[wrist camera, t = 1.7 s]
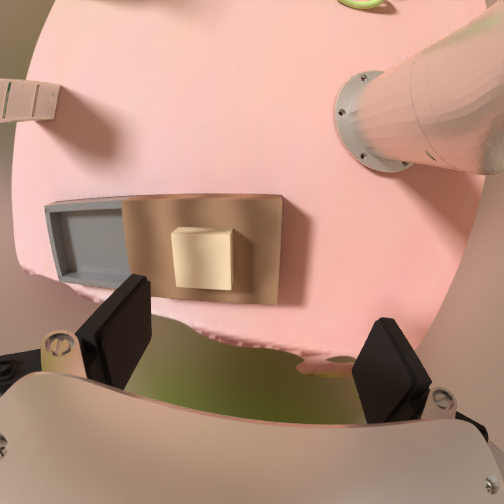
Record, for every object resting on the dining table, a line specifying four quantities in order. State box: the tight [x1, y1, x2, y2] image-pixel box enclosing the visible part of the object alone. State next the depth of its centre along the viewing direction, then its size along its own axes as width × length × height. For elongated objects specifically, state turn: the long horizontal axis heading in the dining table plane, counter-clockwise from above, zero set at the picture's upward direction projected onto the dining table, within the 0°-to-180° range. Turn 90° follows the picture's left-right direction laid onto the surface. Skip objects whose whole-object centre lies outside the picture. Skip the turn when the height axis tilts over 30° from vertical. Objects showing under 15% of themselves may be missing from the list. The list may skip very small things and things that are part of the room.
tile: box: [171, 227, 234, 290], centre depth 28 cm, size 6×6×2 cm
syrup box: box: [0, 79, 61, 123], centre depth 20 cm, size 6×6×14 cm
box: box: [44, 196, 134, 289], centre depth 33 cm, size 15×12×3 cm
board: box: [121, 194, 283, 304], centre depth 31 cm, size 18×12×4 cm, turn 89°
